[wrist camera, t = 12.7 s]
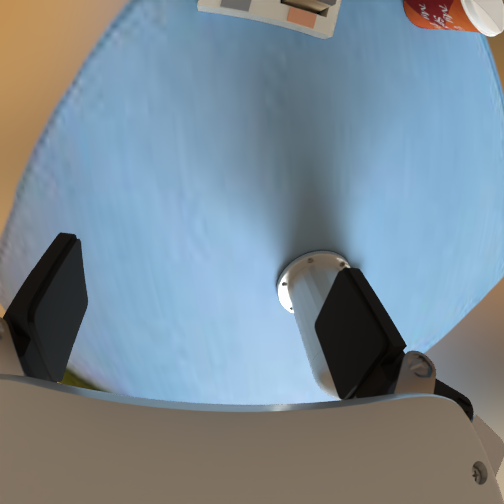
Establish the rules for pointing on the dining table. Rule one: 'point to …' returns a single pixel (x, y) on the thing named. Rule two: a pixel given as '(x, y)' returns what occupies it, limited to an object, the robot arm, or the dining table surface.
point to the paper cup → (457, 15)
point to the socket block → (277, 14)
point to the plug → (310, 4)
